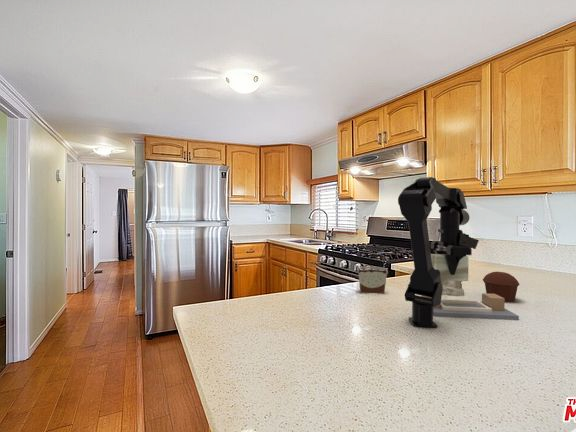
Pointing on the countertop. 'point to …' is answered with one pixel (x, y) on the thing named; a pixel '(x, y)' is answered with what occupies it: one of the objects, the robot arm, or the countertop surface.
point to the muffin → (501, 285)
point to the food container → (372, 279)
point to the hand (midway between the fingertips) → (449, 273)
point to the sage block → (442, 266)
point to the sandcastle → (452, 288)
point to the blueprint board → (475, 308)
